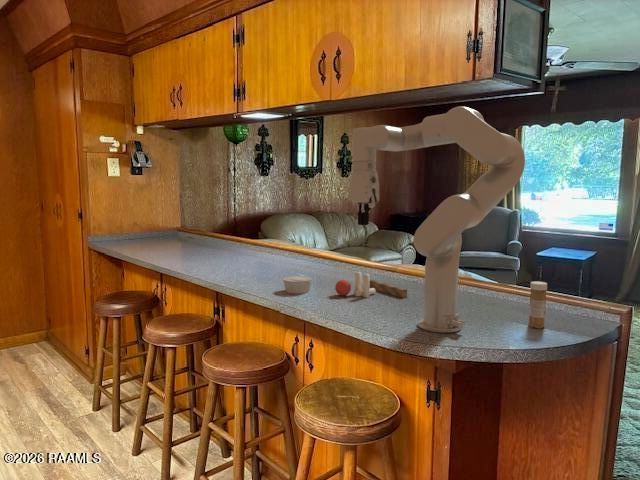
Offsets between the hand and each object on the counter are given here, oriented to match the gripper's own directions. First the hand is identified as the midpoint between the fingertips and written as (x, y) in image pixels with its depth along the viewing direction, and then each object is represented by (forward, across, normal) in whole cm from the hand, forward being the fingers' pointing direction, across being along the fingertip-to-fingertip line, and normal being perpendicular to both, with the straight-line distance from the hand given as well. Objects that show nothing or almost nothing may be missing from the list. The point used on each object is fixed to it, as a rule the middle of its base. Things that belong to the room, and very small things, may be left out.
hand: (363, 224), depth 157 cm
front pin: (+28, +19, -11) cm, 36 cm away
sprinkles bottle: (+29, -40, -35) cm, 61 cm away
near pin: (+29, +16, -14) cm, 36 cm away
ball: (+26, +23, -8) cm, 36 cm away
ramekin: (+30, +38, +3) cm, 48 cm away
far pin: (+29, +22, -14) cm, 39 cm away
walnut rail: (+29, +19, -26) cm, 43 cm away
